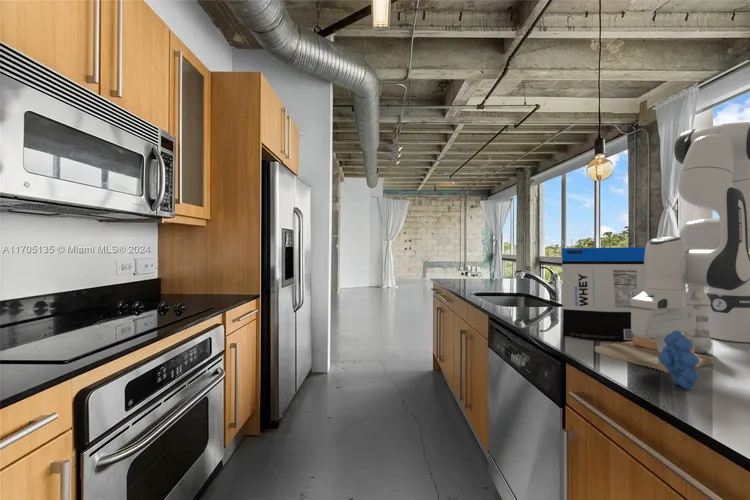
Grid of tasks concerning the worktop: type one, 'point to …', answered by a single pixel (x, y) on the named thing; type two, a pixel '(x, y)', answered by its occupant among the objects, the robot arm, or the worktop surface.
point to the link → (648, 343)
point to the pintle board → (642, 355)
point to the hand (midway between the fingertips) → (664, 351)
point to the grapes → (680, 360)
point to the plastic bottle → (699, 319)
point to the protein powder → (601, 291)
